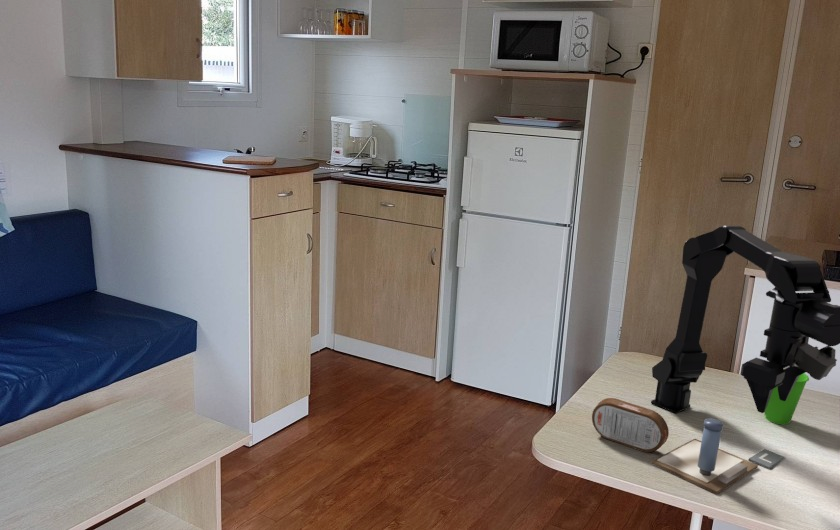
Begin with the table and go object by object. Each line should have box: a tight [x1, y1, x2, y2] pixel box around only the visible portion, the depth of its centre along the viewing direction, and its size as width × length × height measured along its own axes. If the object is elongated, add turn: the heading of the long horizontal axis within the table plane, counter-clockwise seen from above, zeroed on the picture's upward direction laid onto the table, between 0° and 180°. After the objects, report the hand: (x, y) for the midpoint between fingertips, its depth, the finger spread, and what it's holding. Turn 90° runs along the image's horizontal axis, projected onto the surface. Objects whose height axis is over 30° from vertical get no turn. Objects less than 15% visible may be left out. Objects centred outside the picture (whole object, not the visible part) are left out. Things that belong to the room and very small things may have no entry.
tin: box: [591, 397, 670, 453], centre depth 143 cm, size 15×3×8 cm, turn 54°
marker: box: [698, 418, 724, 476], centre depth 131 cm, size 3×3×10 cm
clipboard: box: [651, 438, 759, 495], centre depth 137 cm, size 13×16×2 cm
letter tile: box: [748, 448, 786, 470], centre depth 141 cm, size 4×7×1 cm, turn 131°
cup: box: [764, 372, 810, 425], centre depth 158 cm, size 9×9×11 cm
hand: (772, 406), depth 134 cm, fingers open, 9 cm apart
